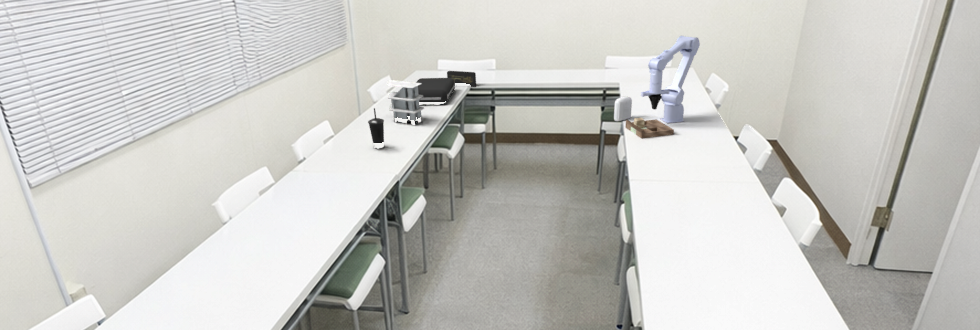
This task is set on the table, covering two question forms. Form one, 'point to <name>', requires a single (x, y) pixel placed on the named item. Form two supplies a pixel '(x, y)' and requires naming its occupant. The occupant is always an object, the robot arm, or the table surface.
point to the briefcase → (435, 89)
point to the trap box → (650, 129)
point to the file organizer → (405, 100)
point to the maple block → (639, 122)
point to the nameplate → (463, 77)
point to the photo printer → (622, 108)
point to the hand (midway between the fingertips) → (654, 108)
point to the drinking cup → (377, 129)
